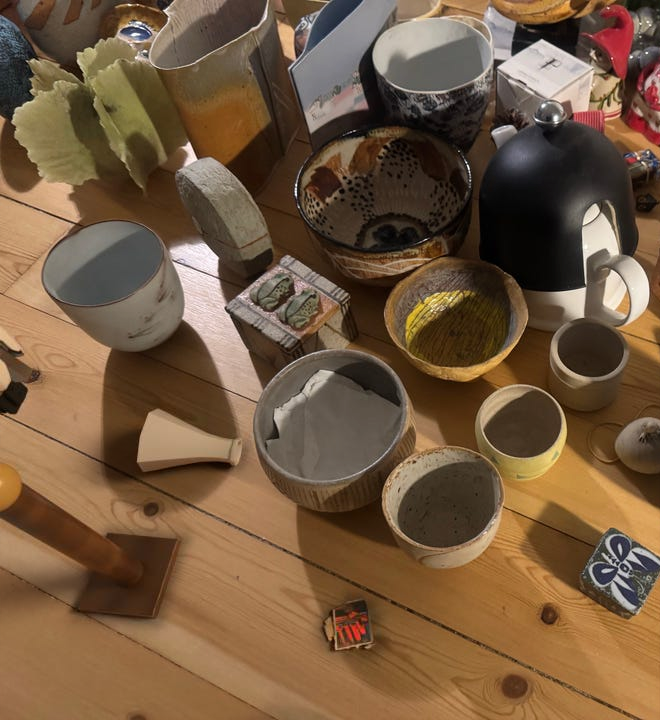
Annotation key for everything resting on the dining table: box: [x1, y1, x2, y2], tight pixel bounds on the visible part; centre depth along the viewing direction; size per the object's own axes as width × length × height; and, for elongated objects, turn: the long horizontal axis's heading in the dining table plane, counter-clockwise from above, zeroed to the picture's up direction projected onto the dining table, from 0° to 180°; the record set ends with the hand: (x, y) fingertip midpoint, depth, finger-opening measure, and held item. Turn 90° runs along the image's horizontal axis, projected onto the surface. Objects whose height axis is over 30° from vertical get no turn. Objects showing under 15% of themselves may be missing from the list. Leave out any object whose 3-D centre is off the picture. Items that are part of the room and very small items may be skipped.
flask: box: [136, 408, 244, 473], centre depth 80 cm, size 7×7×10 cm
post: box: [0, 461, 182, 619], centre depth 64 cm, size 8×8×26 cm
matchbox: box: [323, 598, 377, 651], centre depth 71 cm, size 5×5×1 cm
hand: (15, 401), depth 75 cm, fingers closed
